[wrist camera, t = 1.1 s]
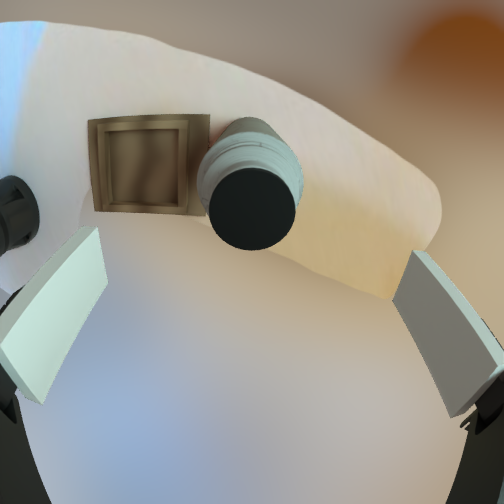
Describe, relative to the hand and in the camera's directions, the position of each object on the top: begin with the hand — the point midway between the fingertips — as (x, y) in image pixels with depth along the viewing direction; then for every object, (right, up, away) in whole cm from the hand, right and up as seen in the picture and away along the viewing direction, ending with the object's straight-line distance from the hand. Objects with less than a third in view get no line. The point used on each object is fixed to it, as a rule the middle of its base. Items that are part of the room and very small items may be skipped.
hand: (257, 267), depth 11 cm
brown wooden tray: (-17, +14, +30) cm, 37 cm away
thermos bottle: (-1, +17, +29) cm, 34 cm away
